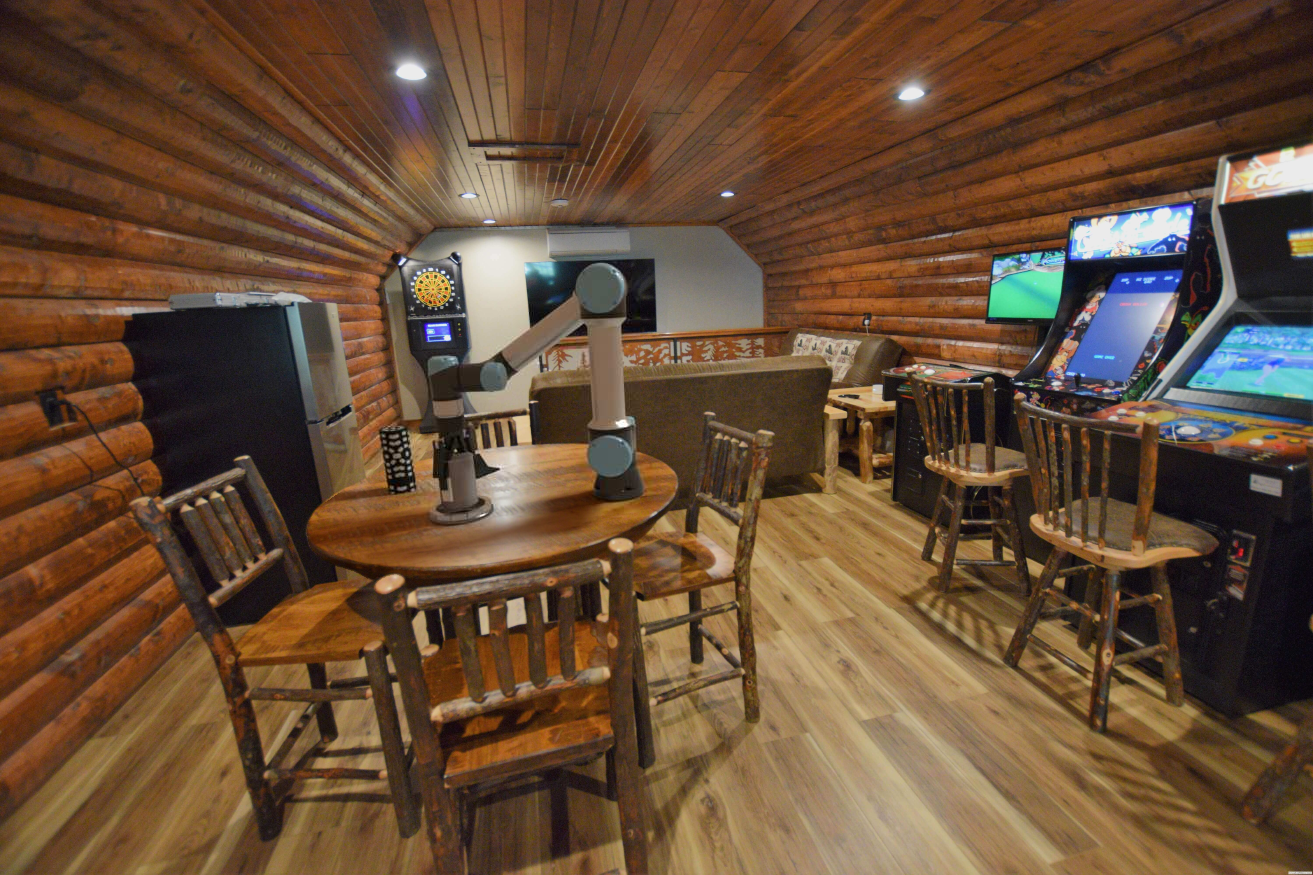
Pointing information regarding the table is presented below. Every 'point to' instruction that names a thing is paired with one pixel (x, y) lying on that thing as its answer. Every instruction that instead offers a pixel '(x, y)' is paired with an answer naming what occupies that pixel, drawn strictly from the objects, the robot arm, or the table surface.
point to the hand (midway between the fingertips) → (459, 494)
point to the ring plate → (461, 513)
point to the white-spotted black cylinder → (397, 459)
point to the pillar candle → (461, 481)
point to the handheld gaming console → (483, 467)
